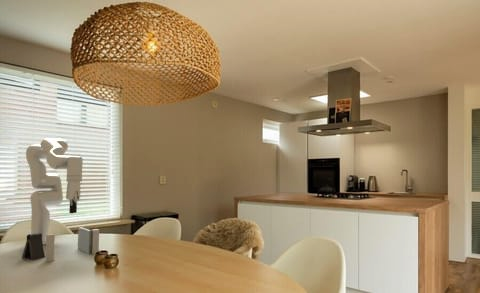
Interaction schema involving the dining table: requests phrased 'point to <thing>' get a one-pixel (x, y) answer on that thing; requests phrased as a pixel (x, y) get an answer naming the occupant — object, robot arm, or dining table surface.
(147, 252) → the dining table surface
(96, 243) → the hinge post
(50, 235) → the post
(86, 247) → the door
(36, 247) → the phone stand
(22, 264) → the dining table surface
